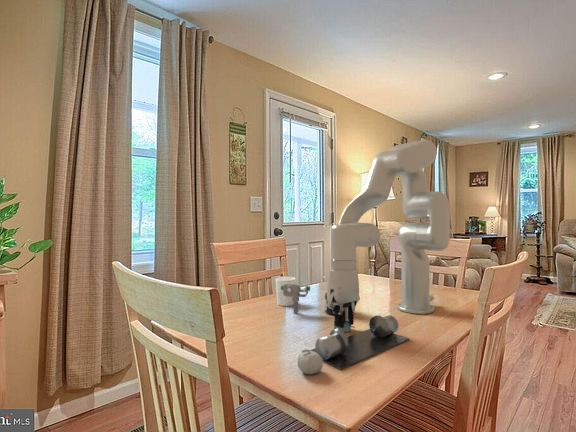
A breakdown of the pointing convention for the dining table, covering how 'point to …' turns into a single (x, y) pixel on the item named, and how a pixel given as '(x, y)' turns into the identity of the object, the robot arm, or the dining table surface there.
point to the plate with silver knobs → (359, 343)
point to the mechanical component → (294, 293)
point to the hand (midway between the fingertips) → (344, 324)
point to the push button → (345, 318)
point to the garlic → (309, 362)
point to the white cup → (281, 298)
